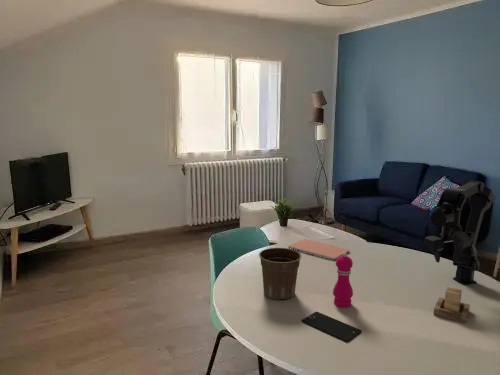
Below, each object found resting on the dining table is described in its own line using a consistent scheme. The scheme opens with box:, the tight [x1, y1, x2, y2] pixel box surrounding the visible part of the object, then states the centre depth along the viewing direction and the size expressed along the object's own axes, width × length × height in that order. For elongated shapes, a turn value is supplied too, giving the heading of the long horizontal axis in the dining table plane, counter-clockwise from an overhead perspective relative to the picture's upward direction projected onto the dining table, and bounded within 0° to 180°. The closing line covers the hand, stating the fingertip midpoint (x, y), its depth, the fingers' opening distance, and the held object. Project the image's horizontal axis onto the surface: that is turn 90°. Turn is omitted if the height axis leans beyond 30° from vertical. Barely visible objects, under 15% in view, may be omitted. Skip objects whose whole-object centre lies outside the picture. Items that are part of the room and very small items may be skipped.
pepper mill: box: [332, 252, 354, 308], centre depth 147 cm, size 7×7×20 cm
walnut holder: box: [433, 296, 471, 324], centre depth 141 cm, size 10×10×2 cm
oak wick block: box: [443, 286, 463, 313], centre depth 141 cm, size 4×4×8 cm
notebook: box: [287, 238, 351, 261], centre depth 205 cm, size 27×17×2 cm, turn 49°
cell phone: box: [301, 311, 362, 343], centre depth 133 cm, size 9×18×1 cm, turn 45°
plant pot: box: [258, 247, 302, 301], centre depth 155 cm, size 16×16×16 cm
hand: (447, 261), depth 155 cm, fingers open, 9 cm apart
